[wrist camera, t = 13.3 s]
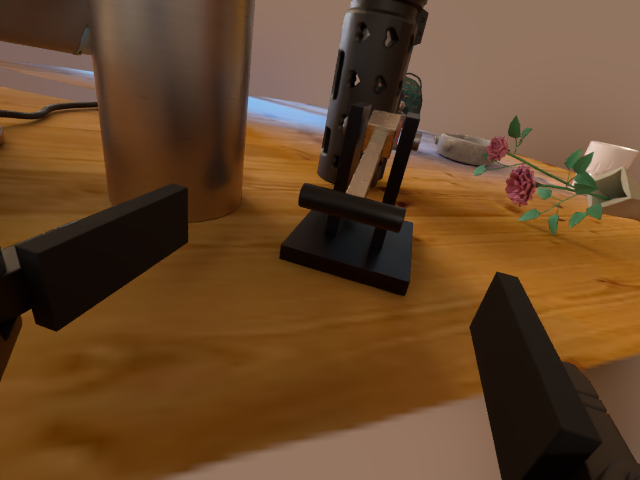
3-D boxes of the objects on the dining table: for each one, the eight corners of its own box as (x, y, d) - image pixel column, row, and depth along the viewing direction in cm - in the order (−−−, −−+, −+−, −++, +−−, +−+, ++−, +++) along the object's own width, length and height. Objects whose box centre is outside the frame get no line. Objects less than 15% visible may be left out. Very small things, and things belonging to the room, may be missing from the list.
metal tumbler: (198, 235, 27) (200, -77, 19) (75, 198, 29) (24, -101, 20) (259, 193, 38) (280, -19, 29) (166, 168, 40) (159, -38, 31)
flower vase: (658, 299, 49) (478, 236, 37) (603, 239, 58) (444, 172, 46) (758, 247, 42) (573, 148, 30) (679, 187, 50) (511, 92, 38)
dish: (486, 160, 86) (494, 140, 84) (499, 172, 74) (508, 150, 72) (430, 147, 88) (436, 128, 86) (433, 157, 76) (440, 135, 74)
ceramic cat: (363, 124, 106) (379, 52, 97) (355, 120, 111) (370, 52, 102) (416, 131, 113) (436, 65, 103) (407, 127, 118) (425, 64, 109)
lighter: (379, 140, 84) (390, 97, 79) (392, 143, 84) (404, 100, 79) (384, 147, 76) (396, 101, 72) (398, 150, 77) (411, 104, 72)
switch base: (404, 296, 25) (463, 134, 20) (278, 258, 26) (300, 99, 21) (409, 233, 35) (448, 116, 30) (319, 209, 37) (340, 94, 32)
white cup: (596, 200, 66) (626, 149, 61) (558, 186, 72) (583, 139, 68) (618, 201, 69) (647, 152, 65) (580, 187, 75) (604, 142, 71)
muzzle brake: (371, 171, 55) (309, 164, 53) (424, -43, 43) (347, -67, 40) (394, 192, 47) (323, 186, 44) (468, -64, 34) (375, -96, 32)
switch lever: (395, 244, 19) (406, 212, 18) (297, 217, 20) (298, 184, 19) (416, 148, 28) (425, 120, 26) (346, 132, 29) (351, 104, 27)
